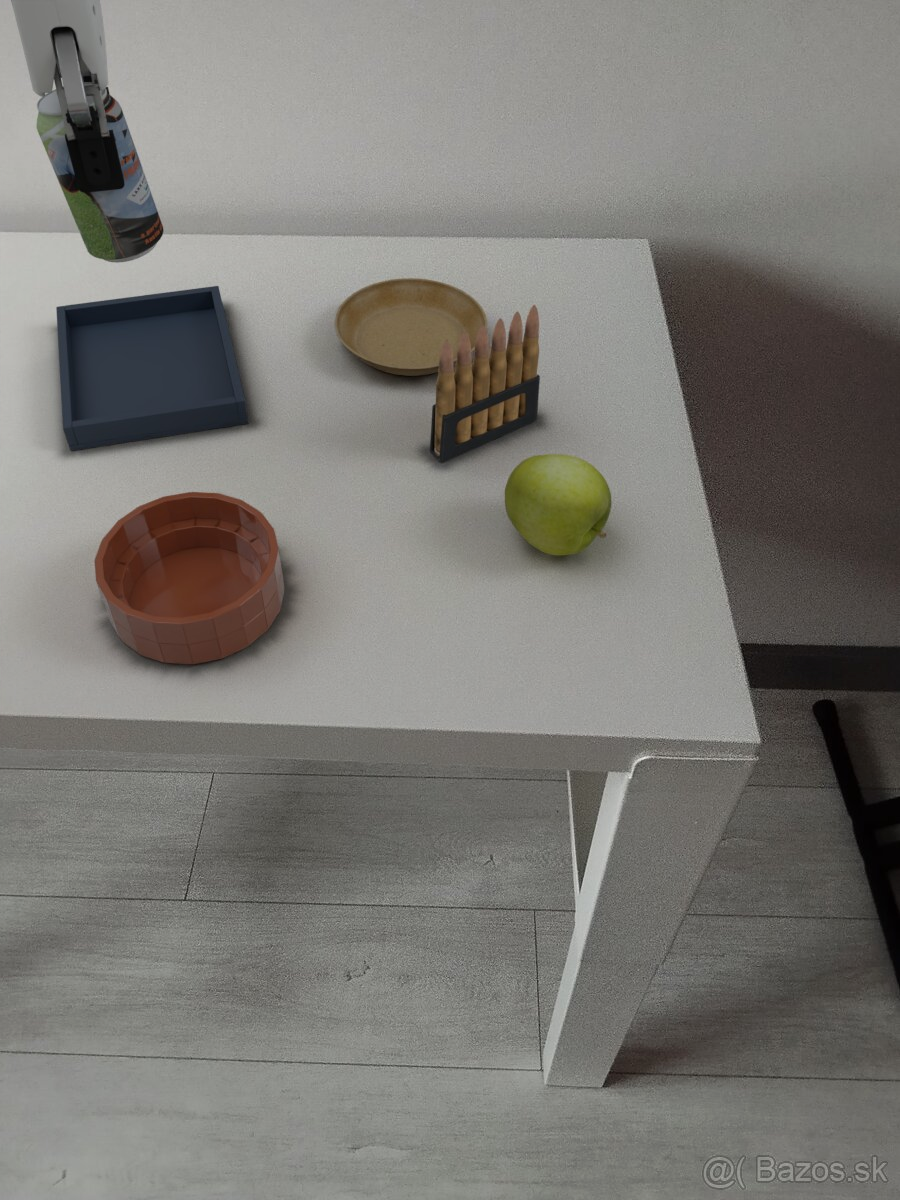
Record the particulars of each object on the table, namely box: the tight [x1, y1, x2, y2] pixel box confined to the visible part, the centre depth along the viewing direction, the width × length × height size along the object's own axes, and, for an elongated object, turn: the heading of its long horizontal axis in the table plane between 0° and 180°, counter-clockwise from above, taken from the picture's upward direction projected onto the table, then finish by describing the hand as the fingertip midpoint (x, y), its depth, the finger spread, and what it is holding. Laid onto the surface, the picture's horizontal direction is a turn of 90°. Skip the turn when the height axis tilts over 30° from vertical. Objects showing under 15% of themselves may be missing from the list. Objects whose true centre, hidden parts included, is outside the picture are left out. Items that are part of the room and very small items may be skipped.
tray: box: [55, 285, 249, 452], centre depth 97 cm, size 16×19×3 cm
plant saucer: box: [333, 277, 488, 377], centre depth 101 cm, size 15×15×3 cm
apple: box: [504, 453, 612, 556], centre depth 82 cm, size 8×9×8 cm
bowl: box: [93, 491, 286, 665], centre depth 78 cm, size 13×13×5 cm
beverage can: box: [36, 82, 165, 264], centre depth 77 cm, size 6×7×12 cm
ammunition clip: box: [429, 304, 541, 464], centre depth 89 cm, size 11×2×12 cm, turn 125°
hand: (99, 163), depth 76 cm, fingers closed on beverage can, 6 cm apart
